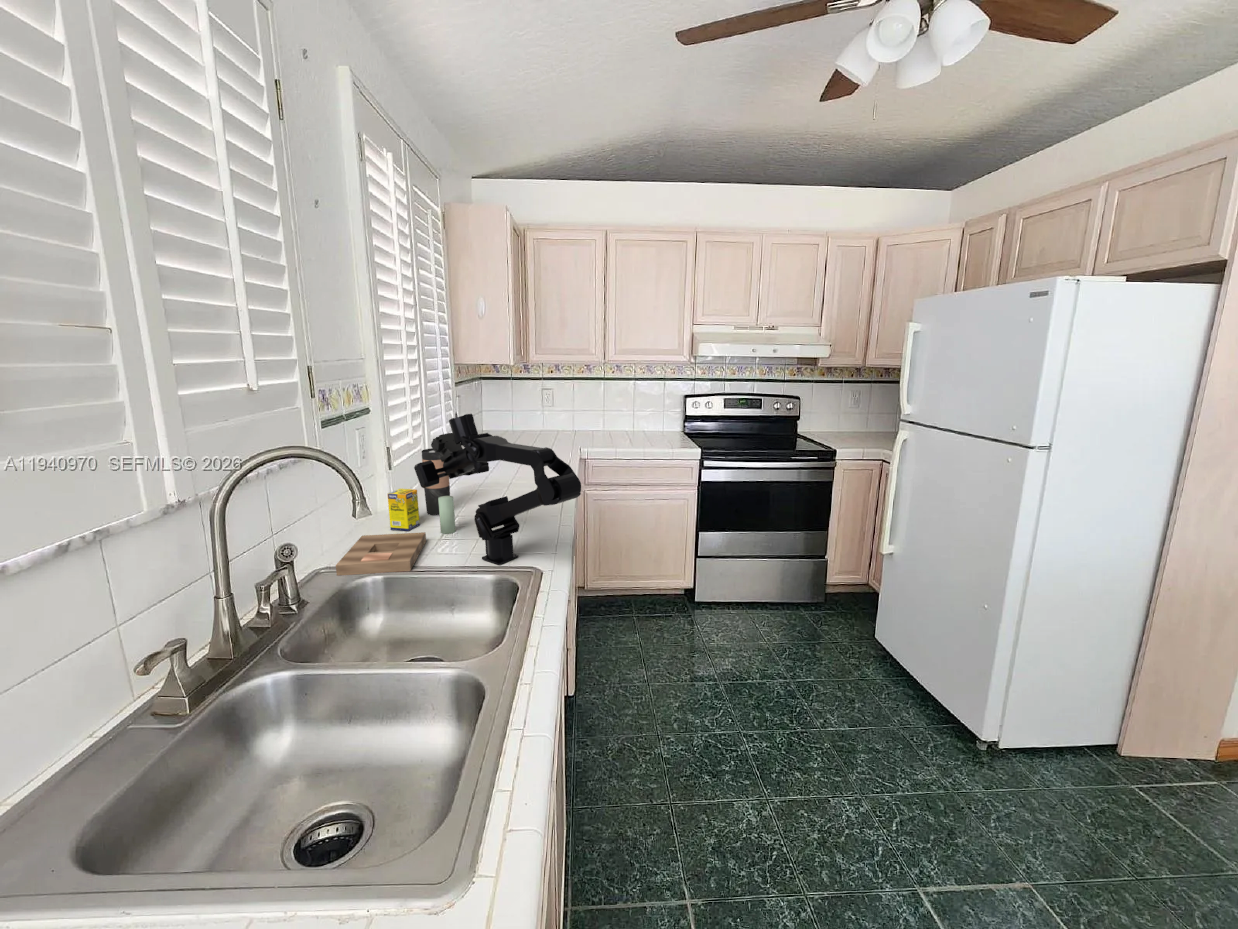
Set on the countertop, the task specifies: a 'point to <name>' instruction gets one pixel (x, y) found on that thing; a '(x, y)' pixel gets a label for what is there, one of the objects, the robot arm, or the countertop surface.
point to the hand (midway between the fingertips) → (435, 476)
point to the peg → (446, 514)
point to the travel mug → (438, 489)
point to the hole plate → (382, 554)
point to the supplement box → (403, 509)
